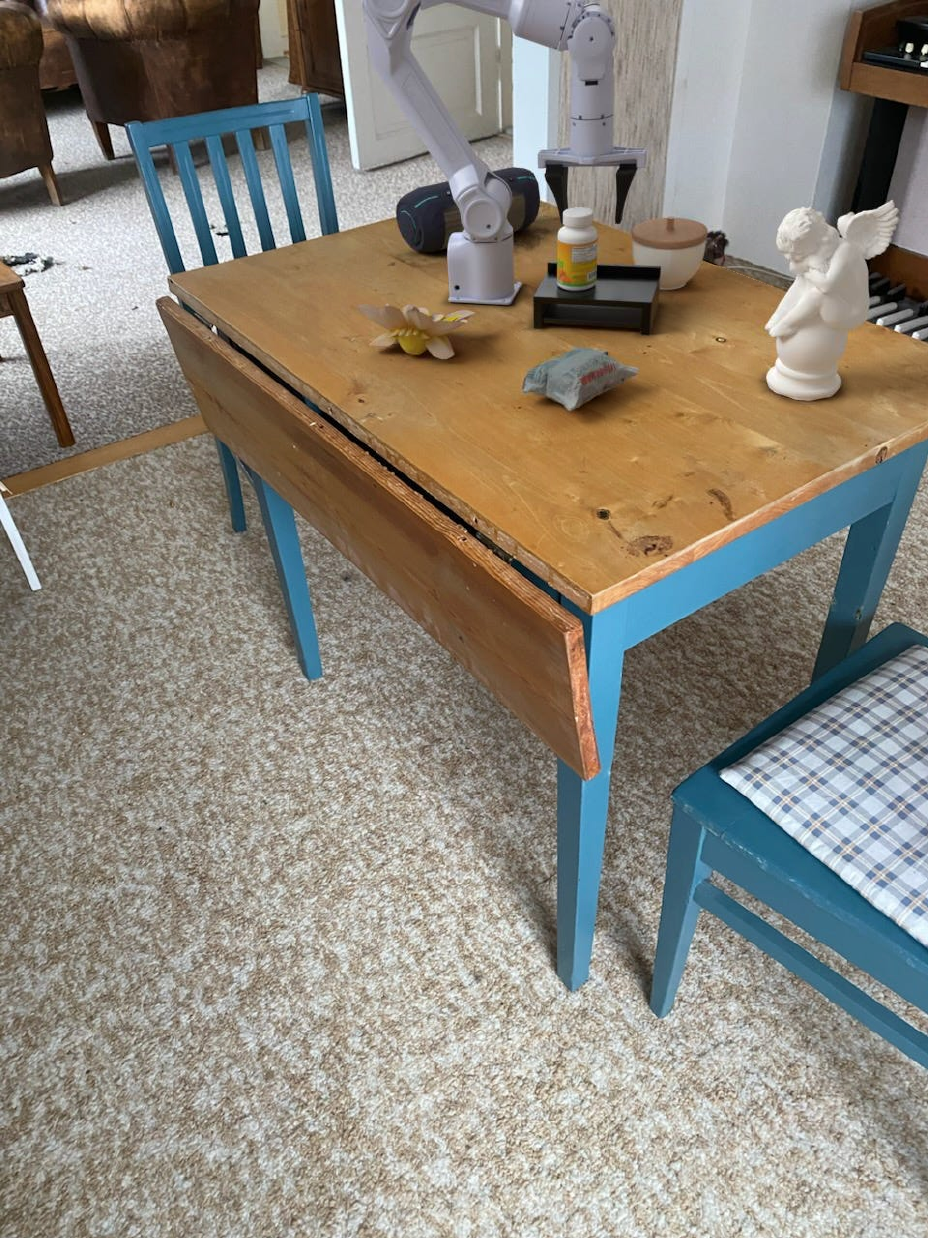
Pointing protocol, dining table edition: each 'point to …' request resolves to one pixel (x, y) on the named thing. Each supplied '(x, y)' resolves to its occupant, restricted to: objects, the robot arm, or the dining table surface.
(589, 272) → the supplement bottle
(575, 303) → the black lipped tray
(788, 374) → the cherub figurine
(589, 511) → the dining table surface
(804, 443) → the dining table surface
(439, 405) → the dining table surface
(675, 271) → the trinket box
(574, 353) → the packaged food
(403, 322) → the decorative flower
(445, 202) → the portable speaker
